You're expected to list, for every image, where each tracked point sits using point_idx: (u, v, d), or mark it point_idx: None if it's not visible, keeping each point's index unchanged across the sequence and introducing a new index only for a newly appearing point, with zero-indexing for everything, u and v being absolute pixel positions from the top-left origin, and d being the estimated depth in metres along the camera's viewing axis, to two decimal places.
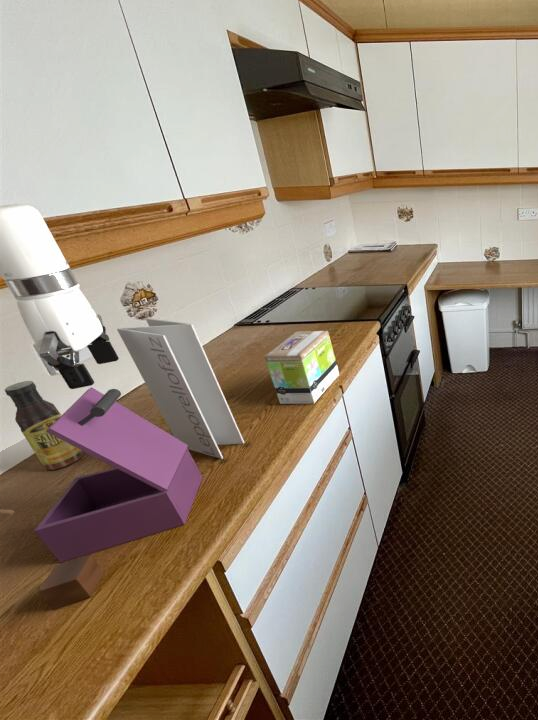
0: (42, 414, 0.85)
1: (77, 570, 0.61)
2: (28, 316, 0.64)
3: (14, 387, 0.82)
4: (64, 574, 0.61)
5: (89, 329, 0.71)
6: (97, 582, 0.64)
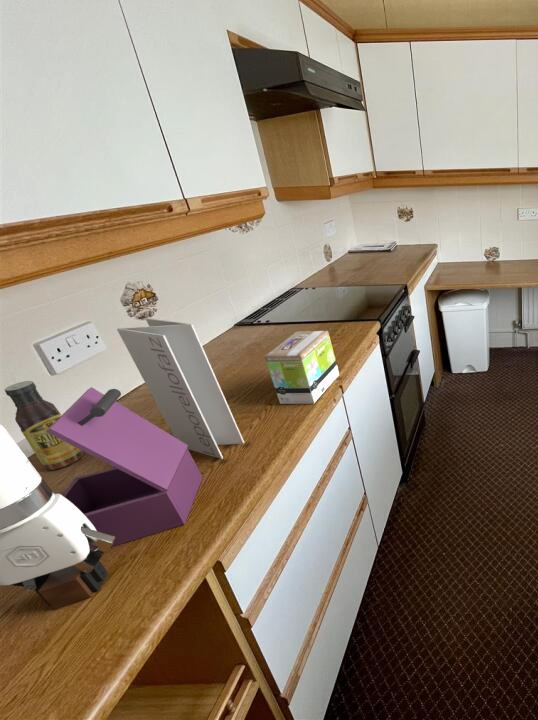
0: (42, 414, 0.85)
1: (77, 570, 0.61)
2: (64, 519, 0.57)
3: (14, 387, 0.82)
4: (64, 574, 0.61)
5: None
6: None
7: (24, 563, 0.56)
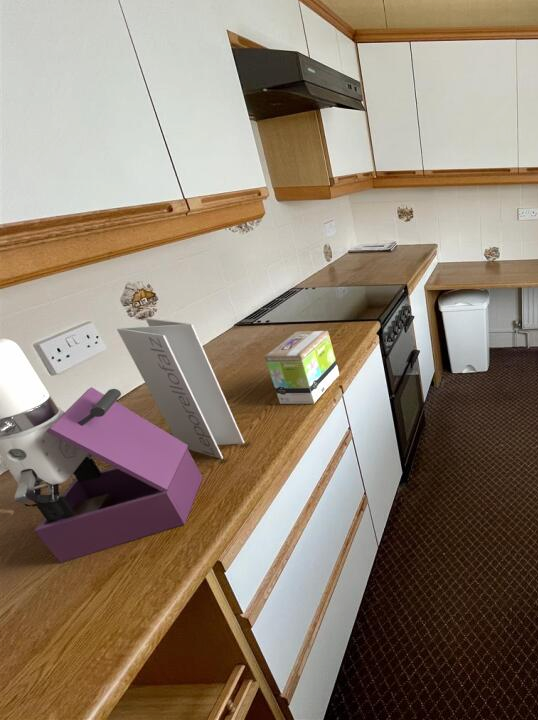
0: None
1: (94, 499, 0.73)
2: None
3: None
4: (90, 505, 0.72)
5: None
6: None
7: (69, 453, 0.67)
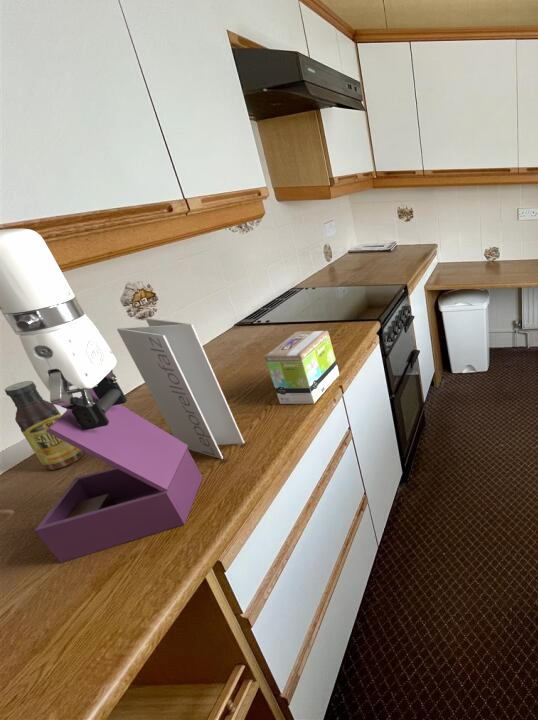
0: (42, 414, 0.85)
1: (94, 499, 0.73)
2: None
3: (14, 387, 0.82)
4: (90, 505, 0.72)
5: None
6: None
7: (95, 360, 0.64)
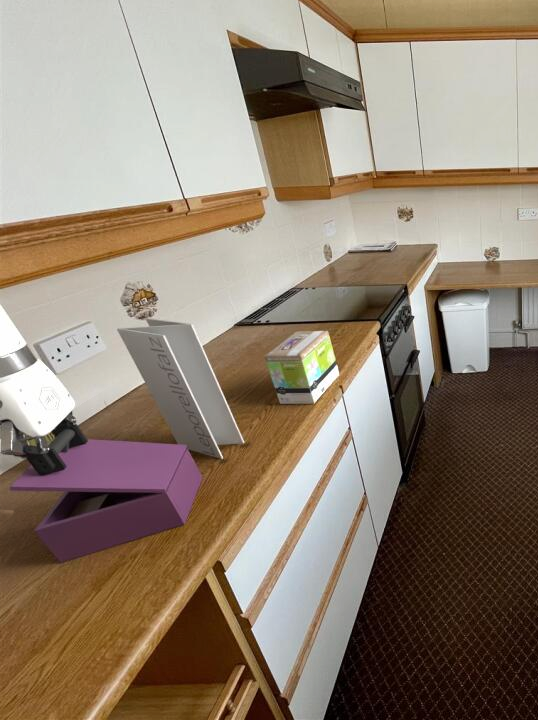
0: None
1: (94, 499, 0.73)
2: None
3: None
4: (90, 505, 0.72)
5: None
6: None
7: (50, 406, 0.64)
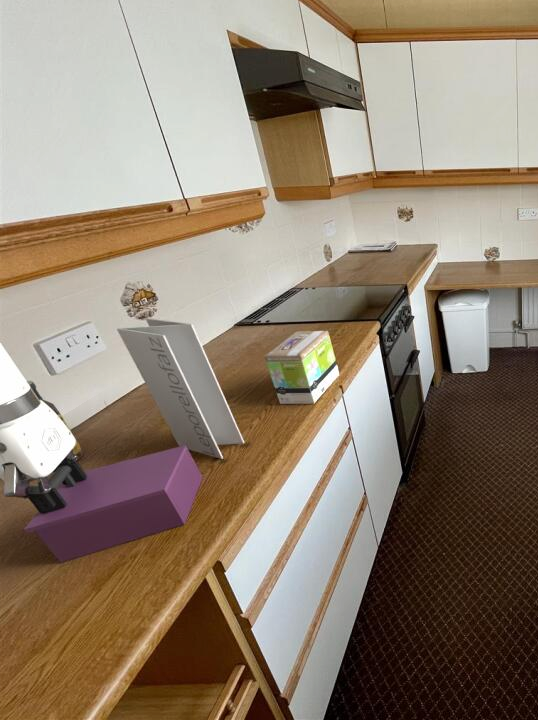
0: None
1: None
2: None
3: None
4: None
5: None
6: None
7: (52, 446, 0.66)
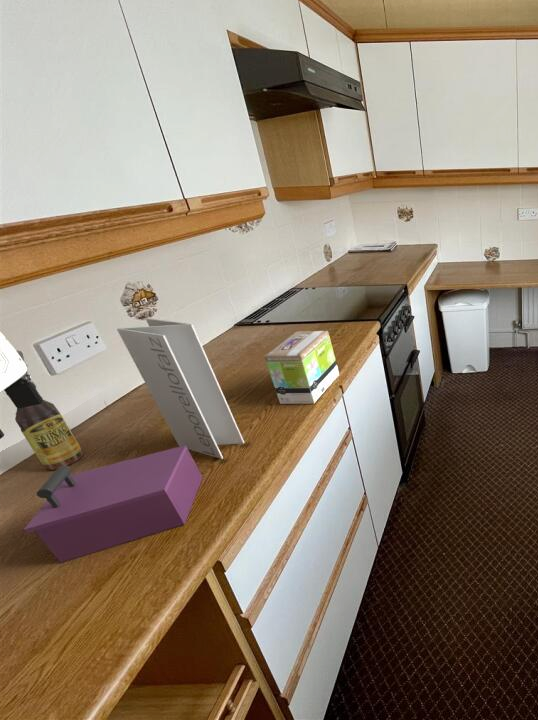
0: (42, 414, 0.85)
1: None
2: None
3: None
4: None
5: None
6: None
7: None
